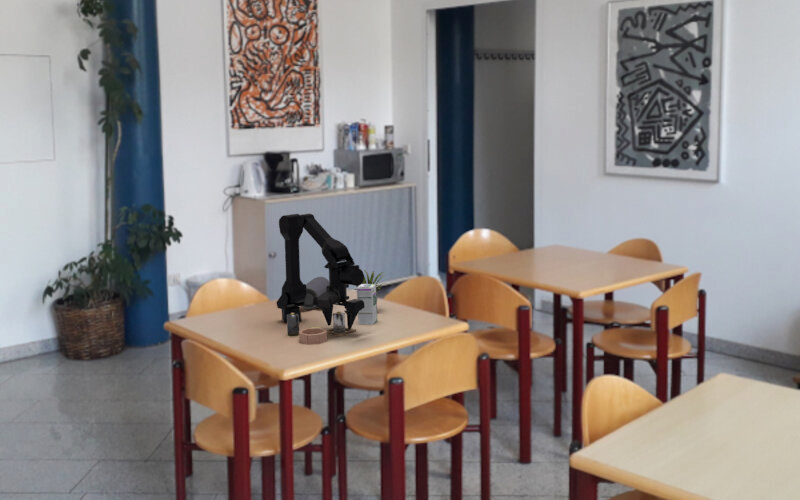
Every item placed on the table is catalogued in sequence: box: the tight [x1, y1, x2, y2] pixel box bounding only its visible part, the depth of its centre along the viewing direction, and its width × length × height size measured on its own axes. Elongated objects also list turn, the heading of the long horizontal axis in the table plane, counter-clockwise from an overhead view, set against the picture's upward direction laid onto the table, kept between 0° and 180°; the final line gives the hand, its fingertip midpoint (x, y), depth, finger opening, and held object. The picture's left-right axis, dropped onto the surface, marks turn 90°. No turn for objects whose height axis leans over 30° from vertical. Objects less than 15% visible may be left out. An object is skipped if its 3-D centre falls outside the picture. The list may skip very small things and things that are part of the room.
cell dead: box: [286, 313, 300, 337], centre depth 304 cm, size 4×4×8 cm
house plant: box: [353, 270, 386, 301], centre depth 339 cm, size 14×14×16 cm
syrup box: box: [356, 283, 378, 326], centre depth 319 cm, size 6×6×14 cm
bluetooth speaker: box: [300, 276, 329, 310], centre depth 352 cm, size 23×9×10 cm, turn 172°
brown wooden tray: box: [326, 327, 357, 338], centre depth 307 cm, size 8×8×2 cm
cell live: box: [332, 311, 346, 333], centre depth 306 cm, size 4×4×8 cm
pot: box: [298, 327, 328, 345], centre depth 297 cm, size 9×9×4 cm
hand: (339, 327), depth 306 cm, fingers open, 9 cm apart
